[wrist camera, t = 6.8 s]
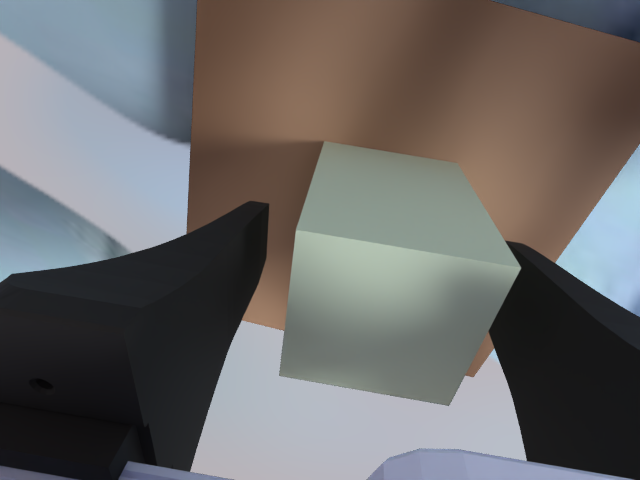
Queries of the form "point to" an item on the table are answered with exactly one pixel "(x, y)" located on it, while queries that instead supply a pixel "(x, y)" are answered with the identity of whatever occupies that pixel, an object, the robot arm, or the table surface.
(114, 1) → the table surface
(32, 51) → the table surface
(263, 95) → the walnut plinth
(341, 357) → the sage block
